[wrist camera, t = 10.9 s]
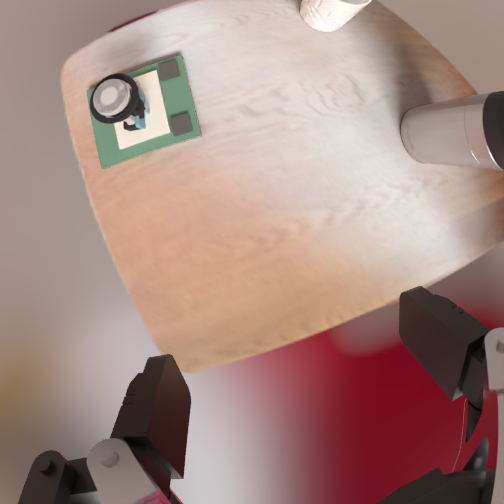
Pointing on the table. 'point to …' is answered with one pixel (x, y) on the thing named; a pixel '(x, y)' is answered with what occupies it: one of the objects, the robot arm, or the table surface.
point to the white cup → (330, 12)
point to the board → (151, 115)
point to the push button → (119, 102)
